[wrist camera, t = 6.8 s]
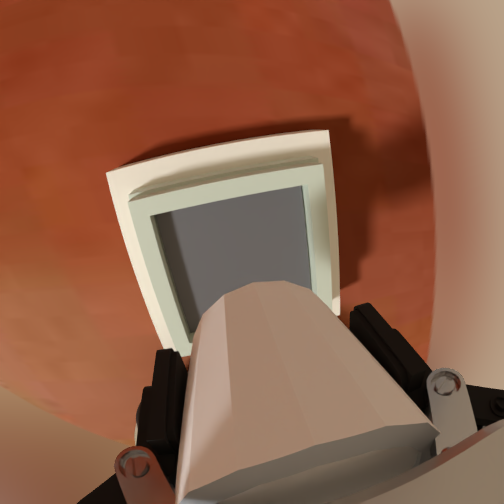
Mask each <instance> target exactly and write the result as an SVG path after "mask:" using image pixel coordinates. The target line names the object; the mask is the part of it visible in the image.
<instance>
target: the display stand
mask: <svg viewBox="0 0 504 504" xmlns="http://www.w3.org/2000/svg"><path fill="white" fill-rule="evenodd" d="M106 175H107V179H108V183H109V187H110V191H111V195H112V199H113V203H114V206H115V210H116V214H117V217H118V221H119V224H120V228H121V231H122V234H123V238H124V241H125V244H126V247H127V251H128V254H129V257H130V260H131V263H132V266H133V269H134V272H135V275H136V278H137V281H138V284H139V286H140V289H141V292H142V295H143V297H144V300H145V303H146V305H147V308H148V311H149V313H150V316H151V319H152V321H153V324H154V326H155V329H156V331H157V334H158V336H159V338H160V341H161V343H162V346H163V348H164V349H168V348H172V349H173V350H174V351H179V353H180V356H181V357H182V356H188V355H191V350H192V343H193V337H194V334H195V332H196V329H197V327H198V325H199V322H200V320H201V317H202V315H203V314H204V313H205V312H206V311H207V310H208V309H209V308H210V307H211V306H212V305H213V304H214V303H215V302H216V301H218V300H219V299H220V298H221V297H222V296H223V295H224V294H226V293H229V292H231V291H234V290H236V289H239V288H241V287H243V286H246V285H248V284H250V283H253V282H269V281H287V282H290V283H293V284H296V285H299V286H302V287H305V288H308V289H310V290H311V291H312V292H314V293H315V294H316V295H317V296H318V297H319V298H320V299H321V300H322V301H323V302H324V303H325V304H326V305H327V306H328V307H329V308H330V309H331V311H332V312H333V313H334V314H335V315H336V316H338V315H340V275H339V247H338V227H337V212H336V198H335V186H334V175H333V165H332V155H331V146H330V138H329V130H305V131H296V132H288V133H280V134H273V135H266V136H259V137H253V138H247V139H240V140H235V141H229V142H224V143H218V144H213V145H208V146H203V147H198V148H193V149H189V150H184V151H180V152H175V153H171V154H167V155H162V156H158V157H154V158H150V159H146V160H143V161H139V162H135V163H131V164H128V165H124V166H121V167H118V168H115V169H113V170H111V171H109V172H107V173H106Z"/></svg>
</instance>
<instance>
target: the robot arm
mask: <svg viewBox="0 0 504 504" xmlns="http://www.w3.org/2000/svg"><path fill="white" fill-rule="evenodd" d="M350 331H351V332H352V334H353V335H354V336H355V337H356V338H357V339H358V340H359V341H360V342H361V343H362V345H363V346H364V347H365V348H366V349H367V350H368V351H369V352H370V353H371V355H372V356H373V357H374V358H375V359H376V360H377V361H378V362H379V363H380V365H381V366H382V367H383V368H384V369H385V370H386V371H387V372H388V374H389V375H390V376H391V377H392V378H393V379H394V380H395V381H396V383H397V384H398V385H399V386H400V387H401V388H402V389H403V390H404V392H405V393H406V394H407V395H408V396H409V397H410V398H411V400H412V401H413V402H414V403H415V404H416V405H417V406H418V408H419V409H420V410H421V411H422V412H423V413H424V414H425V416H426V417H427V418H428V419H429V420H430V421H431V422H432V424H433V425H434V426H435V427H436V428H437V429H438V431H439V432H440V434H439V435H438V436H437V437H435V439H434V441H433V443H432V445H431V447H430V456H431V455H432V456H431V458H430V459H429V460H428V461H426V462H424V463H422V464H420V465H418V466H416V467H414V468H412V469H410V470H408V471H406V472H404V473H402V474H400V475H398V476H396V477H393V478H391V479H389V480H387V481H384V482H382V483H380V484H377V485H375V486H372V487H370V488H367V489H365V490H362V491H359V492H357V493H354V494H351V495H348V496H346V497H343V498H340V499H337V500H334V501H330V502H327V503H324V504H504V390H499V389H491V388H485V387H479V386H472V385H466V384H465V381H464V379H463V377H462V375H461V374H460V373H459V372H457V371H455V370H453V369H450V368H440V369H436V370H435V371H432V370H431V369H430V368H429V366H428V365H427V364H426V363H425V362H424V360H423V359H422V358H421V357H420V356H419V355H418V353H417V352H416V351H415V350H414V349H413V348H412V346H411V345H410V344H409V343H408V342H407V341H406V339H405V338H404V337H403V336H402V335H401V334H400V332H399V331H397V330H396V329H392V328H391V327H390V325H389V324H388V323H387V322H386V321H385V320H384V319H383V317H382V316H381V315H380V314H379V313H378V312H377V311H376V309H375V308H374V307H373V306H372V305H371V304H370V303H364V304H361V305H358V306H355V307H354V311H351V312H350ZM187 378H188V373H187V370H186V368H185V365H184V363H183V360H182V358H181V356H180V353H179V351H174V350H173V349H172V348H168V349H162V350H157V352H156V358H155V366H154V373H153V381H152V386H147V387H144V389H143V393H142V400H141V407H140V415H139V423H138V432H137V441H136V446H132V447H129V448H127V449H125V450H123V451H122V452H121V453H120V454H119V455H118V456H117V458H116V460H115V464H114V467H115V472H116V473H115V474H114V475H113V476H111V477H110V478H109V479H108V480H106V481H105V482H104V483H102V484H101V485H100V486H99V487H97V488H96V489H95V490H93V491H92V492H91V493H89V494H88V495H87V496H85V497H84V498H83V499H82V500H80V501H79V502H78V503H77V504H175V500H176V496H175V485H176V474H177V464H178V454H179V444H180V435H181V426H182V418H183V409H184V401H185V393H186V386H187Z"/></svg>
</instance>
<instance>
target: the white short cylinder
mask: <svg viewBox="0 0 504 504" xmlns="http://www.w3.org/2000/svg"><path fill="white" fill-rule="evenodd" d="M439 434H440V432H439V431H438V429H437V428H436V427H435V426H434V425H433V424H432V422H431V421H430V420H429V419H428V418H427V417H426V416H425V414H424V413H423V412H422V411H421V410H420V409H419V408H418V406H417V405H416V404H415V403H414V402H413V401H412V400H411V398H410V397H409V396H408V395H407V394H406V393H405V392H404V390H403V389H402V388H401V387H400V386H399V385H398V384H397V383H396V381H395V380H394V379H393V378H392V377H391V376H390V375H389V374H388V372H387V371H386V370H385V369H384V368H383V367H382V366H381V365H380V363H379V362H378V361H377V360H376V359H375V358H374V357H373V356H372V355H371V353H370V352H369V351H368V350H367V349H366V348H365V347H364V346H363V345H362V343H361V342H360V341H359V340H358V339H357V338H356V337H355V336H354V335H353V334H352V332H351V331H350V330H349V329H348V328H347V327H346V326H345V325H344V324H343V323H342V321H341V320H340V319H339V318H338V317H337V316H336V315H335V314H334V313H333V312H332V311H331V309H330V308H329V307H328V306H327V305H326V304H325V303H324V302H323V301H322V300H321V299H320V298H319V297H318V296H317V295H316V294H315V293H314V292H312V291H311V290H310V289H308V288H305V287H302V286H299V285H296V284H293V283H290V282H287V281H269V282H253V283H250V284H248V285H246V286H243V287H241V288H239V289H236V290H234V291H231V292H229V293H226V294H224V295H223V296H222V297H221V298H220V299H219V300H218V301H216V302H215V303H214V304H213V305H212V306H211V307H210V308H209V309H208V310H207V311H206V312H205V313H204V314H203V315H202V317H201V320H200V322H199V325H198V327H197V329H196V332H195V334H194V337H193V343H192V350H191V357H190V364H189V371H188V378H187V386H186V393H185V401H184V409H183V418H182V426H181V435H180V444H179V454H178V464H177V474H176V485H175V496H176V500H175V504H324V503H327V502H330V501H334V500H337V499H340V498H343V497H346V496H348V495H351V494H354V493H357V492H359V491H362V490H365V489H367V488H370V487H372V486H375V485H377V484H380V483H382V482H384V481H387V480H389V479H391V478H393V477H396V476H398V475H400V474H402V473H404V472H406V471H408V470H410V469H412V468H414V467H416V466H418V465H420V464H422V463H424V462H426V461H428V460H429V459H430V458H431V456H432V455H431V456H430V447H431V445H432V443H433V441H434V439H435V437H437V436H438V435H439Z"/></svg>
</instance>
